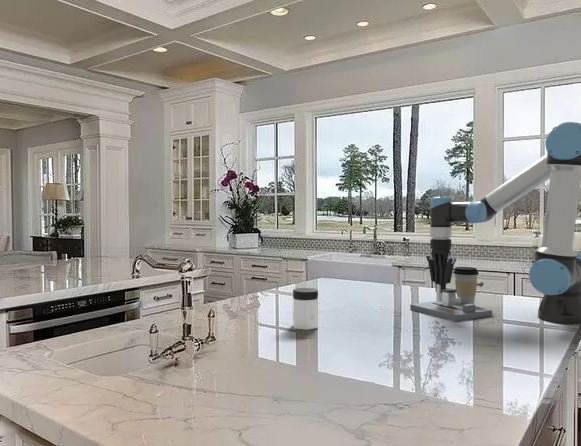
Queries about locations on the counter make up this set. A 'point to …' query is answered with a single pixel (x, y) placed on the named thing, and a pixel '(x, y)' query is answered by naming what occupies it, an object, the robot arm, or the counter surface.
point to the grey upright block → (448, 297)
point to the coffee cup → (466, 283)
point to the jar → (305, 308)
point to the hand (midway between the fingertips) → (440, 301)
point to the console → (451, 310)
